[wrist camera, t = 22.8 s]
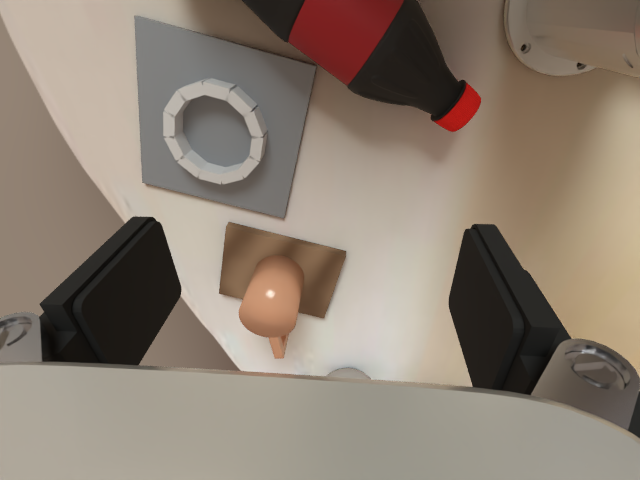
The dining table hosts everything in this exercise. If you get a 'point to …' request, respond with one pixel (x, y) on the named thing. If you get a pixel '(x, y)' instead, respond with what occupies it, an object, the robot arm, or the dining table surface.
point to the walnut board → (314, 259)
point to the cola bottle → (375, 52)
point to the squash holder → (219, 116)
